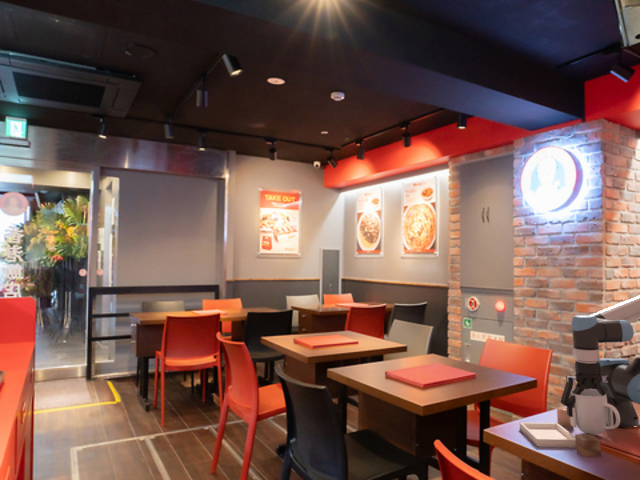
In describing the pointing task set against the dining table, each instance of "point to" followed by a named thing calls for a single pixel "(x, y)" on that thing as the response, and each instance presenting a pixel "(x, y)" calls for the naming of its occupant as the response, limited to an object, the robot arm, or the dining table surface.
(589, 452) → the walnut block
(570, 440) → the tray
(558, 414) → the brown short cylinder
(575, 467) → the dining table surface
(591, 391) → the mug
